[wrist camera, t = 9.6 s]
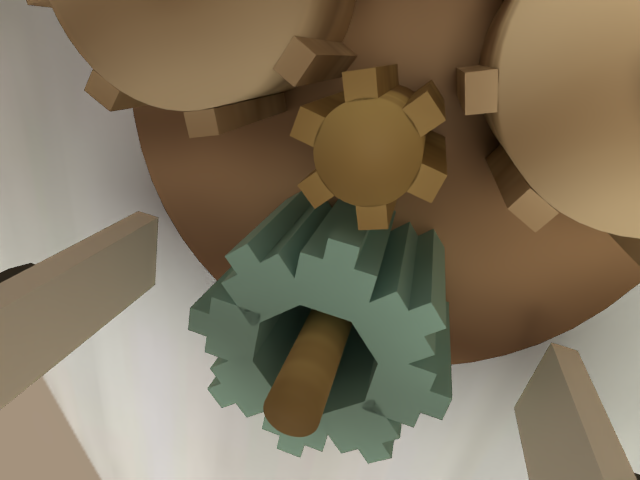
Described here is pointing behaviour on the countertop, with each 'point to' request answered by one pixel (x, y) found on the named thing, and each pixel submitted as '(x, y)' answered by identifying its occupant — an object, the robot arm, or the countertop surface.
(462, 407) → the countertop surface
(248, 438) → the countertop surface
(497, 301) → the carrier
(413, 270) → the gear
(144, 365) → the countertop surface
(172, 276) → the countertop surface
